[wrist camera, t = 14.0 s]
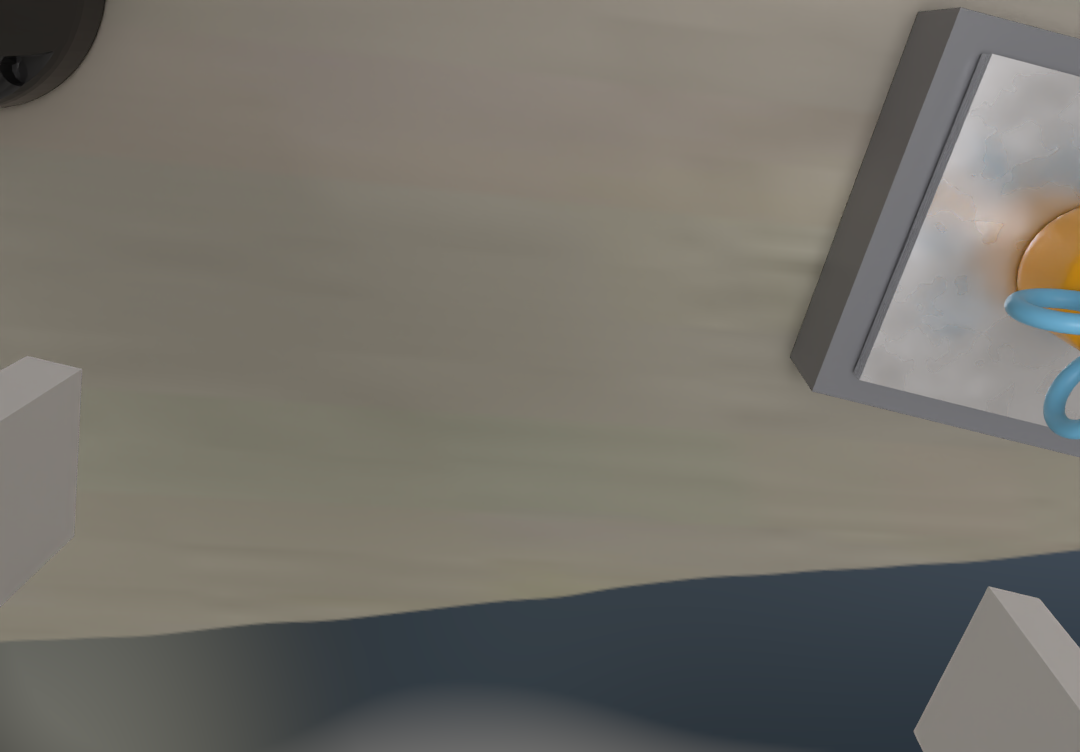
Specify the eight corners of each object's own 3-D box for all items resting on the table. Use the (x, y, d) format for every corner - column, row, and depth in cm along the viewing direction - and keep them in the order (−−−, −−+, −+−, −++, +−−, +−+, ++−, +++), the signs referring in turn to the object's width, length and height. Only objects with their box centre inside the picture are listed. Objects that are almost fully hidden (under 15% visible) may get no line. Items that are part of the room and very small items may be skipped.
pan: (831, 346, 46) (859, 380, 41) (945, 52, 40) (992, 53, 36) (1099, 412, 46) (1156, 453, 42) (1247, 132, 41) (1331, 143, 36)
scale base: (790, 357, 47) (811, 391, 43) (918, 11, 41) (960, 7, 36) (1114, 437, 48) (1171, 479, 43) (1291, 110, 42) (1379, 118, 37)
